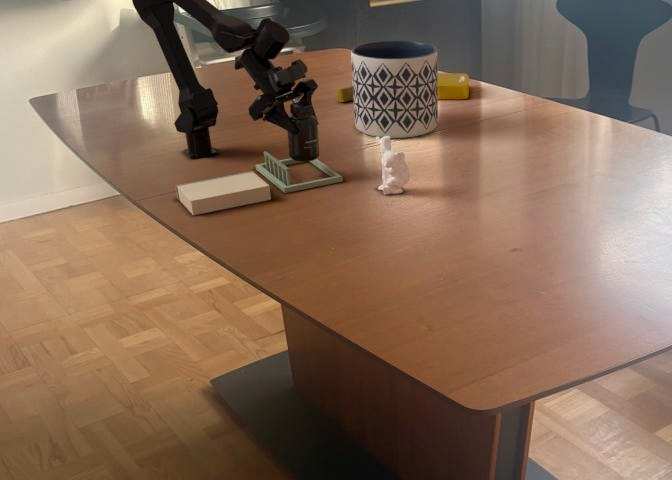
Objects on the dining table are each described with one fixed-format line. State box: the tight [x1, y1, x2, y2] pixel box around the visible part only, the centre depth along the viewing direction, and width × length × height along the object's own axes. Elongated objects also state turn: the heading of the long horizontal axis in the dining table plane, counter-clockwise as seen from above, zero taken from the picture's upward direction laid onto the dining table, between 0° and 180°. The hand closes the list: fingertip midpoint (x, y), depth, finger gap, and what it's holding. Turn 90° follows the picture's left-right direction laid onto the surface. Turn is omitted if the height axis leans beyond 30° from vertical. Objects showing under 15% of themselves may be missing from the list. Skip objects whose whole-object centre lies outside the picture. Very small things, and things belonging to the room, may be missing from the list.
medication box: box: [336, 84, 354, 103], centre depth 248 cm, size 12×3×4 cm, turn 134°
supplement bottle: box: [286, 102, 320, 162], centre depth 187 cm, size 7×7×12 cm
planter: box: [350, 39, 439, 139], centre depth 220 cm, size 22×22×20 cm
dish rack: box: [255, 150, 344, 194], centre depth 191 cm, size 18×14×5 cm
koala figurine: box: [375, 136, 411, 195], centre depth 181 cm, size 8×7×12 cm
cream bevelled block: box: [174, 170, 272, 216], centre depth 179 cm, size 11×17×3 cm, turn 122°
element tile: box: [438, 72, 470, 101], centre depth 254 cm, size 15×15×5 cm
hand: (307, 129), depth 186 cm, fingers closed on supplement bottle, 7 cm apart
